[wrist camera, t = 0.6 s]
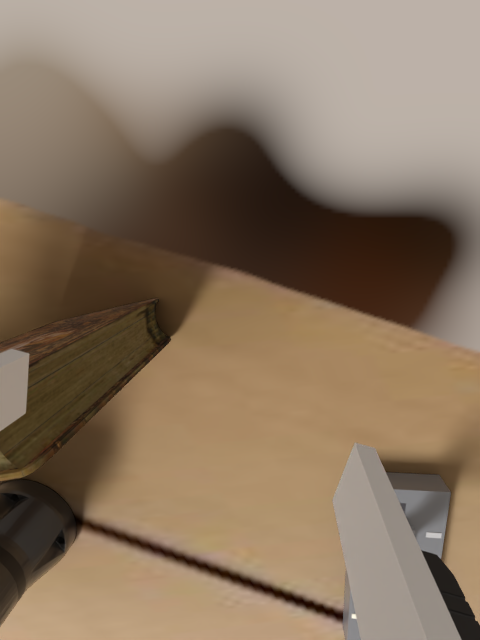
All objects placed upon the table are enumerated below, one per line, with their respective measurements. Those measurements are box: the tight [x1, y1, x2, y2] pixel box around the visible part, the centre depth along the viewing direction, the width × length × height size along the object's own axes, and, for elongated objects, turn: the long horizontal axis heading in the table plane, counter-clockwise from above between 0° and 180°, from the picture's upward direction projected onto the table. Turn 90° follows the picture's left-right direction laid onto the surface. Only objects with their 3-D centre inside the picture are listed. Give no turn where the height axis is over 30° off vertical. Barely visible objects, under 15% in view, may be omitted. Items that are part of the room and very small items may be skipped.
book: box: [0, 298, 171, 481], centre depth 30 cm, size 16×6×25 cm, turn 104°
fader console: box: [343, 472, 451, 640], centre depth 45 cm, size 28×11×3 cm, turn 2°
